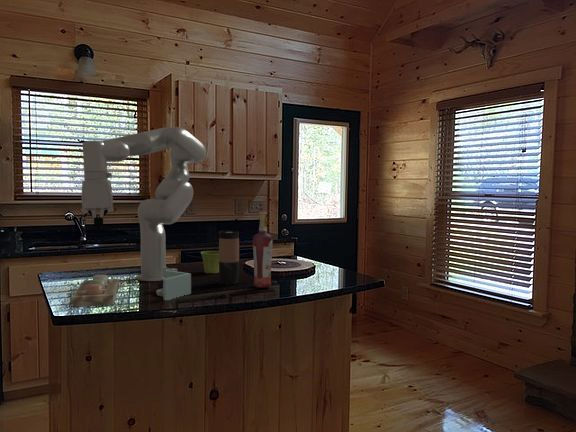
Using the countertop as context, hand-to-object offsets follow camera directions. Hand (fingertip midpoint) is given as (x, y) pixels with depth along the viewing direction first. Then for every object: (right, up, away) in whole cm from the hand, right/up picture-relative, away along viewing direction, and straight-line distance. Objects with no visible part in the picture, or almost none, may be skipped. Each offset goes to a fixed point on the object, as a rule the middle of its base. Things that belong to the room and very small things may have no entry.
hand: (98, 228), depth 172 cm
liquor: (+57, -22, +8) cm, 62 cm away
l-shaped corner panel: (+25, -23, -4) cm, 34 cm away
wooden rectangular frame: (+2, -23, -7) cm, 24 cm away
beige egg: (0, -22, 0) cm, 22 cm away
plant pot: (+34, -20, +36) cm, 54 cm away
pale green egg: (+2, -22, -7) cm, 24 cm away
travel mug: (+44, -22, +15) cm, 51 cm away
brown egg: (+4, -23, -15) cm, 28 cm away
